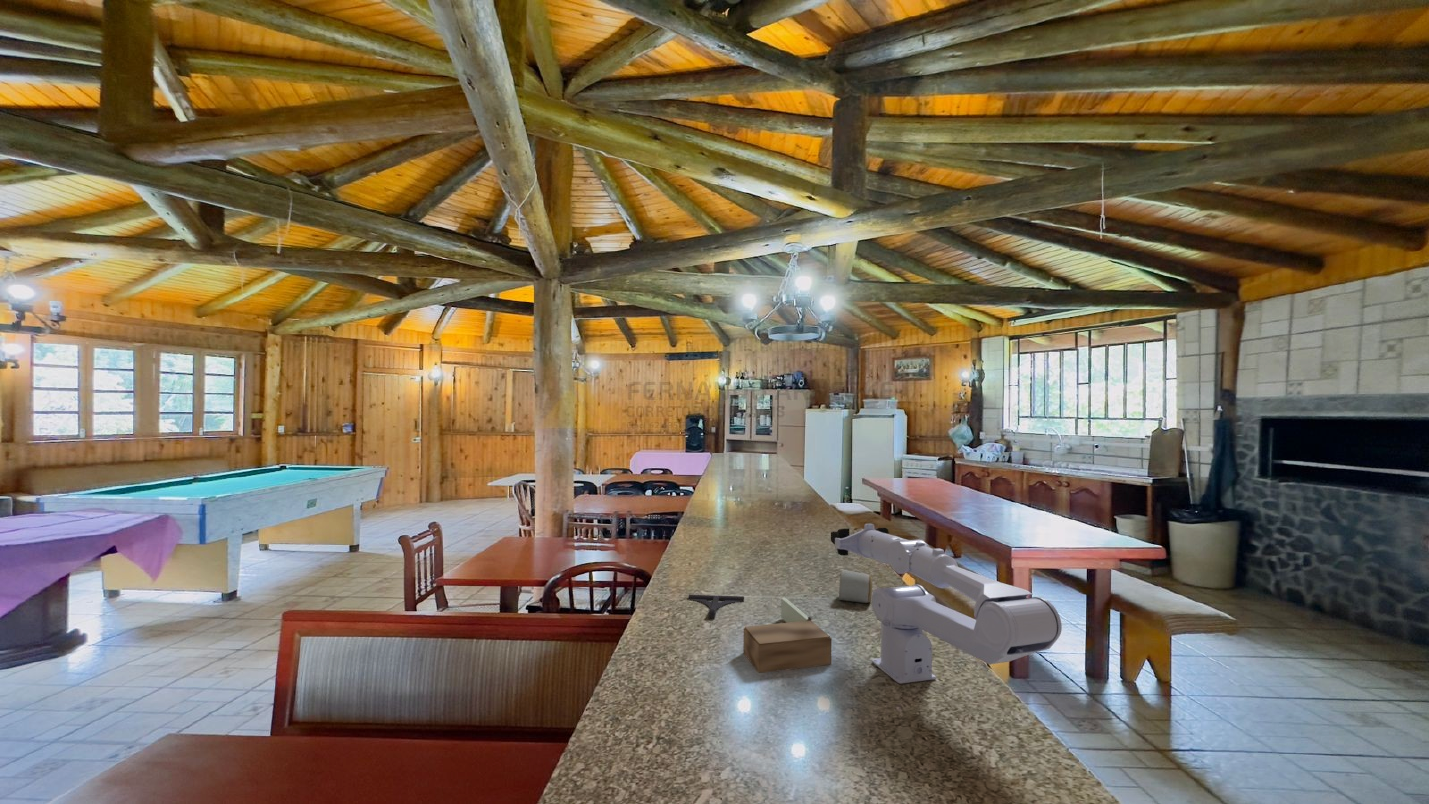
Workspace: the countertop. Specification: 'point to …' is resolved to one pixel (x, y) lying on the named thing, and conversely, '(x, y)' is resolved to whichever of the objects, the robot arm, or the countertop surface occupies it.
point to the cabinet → (786, 646)
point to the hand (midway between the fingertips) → (847, 536)
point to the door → (791, 612)
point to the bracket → (715, 602)
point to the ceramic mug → (855, 587)
